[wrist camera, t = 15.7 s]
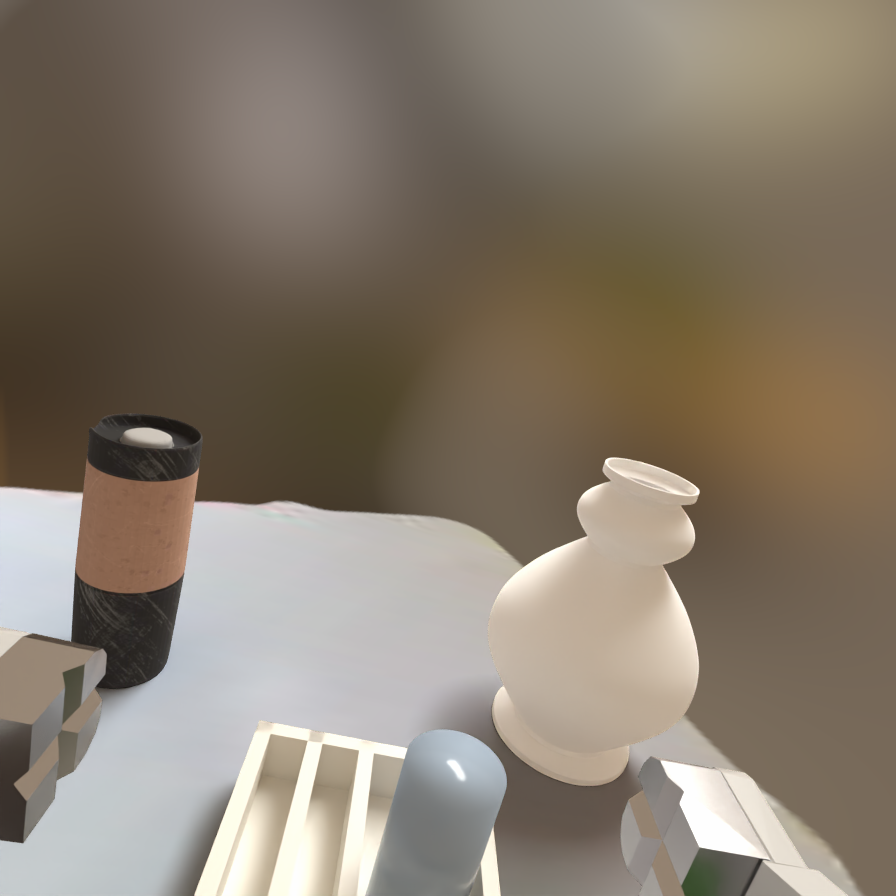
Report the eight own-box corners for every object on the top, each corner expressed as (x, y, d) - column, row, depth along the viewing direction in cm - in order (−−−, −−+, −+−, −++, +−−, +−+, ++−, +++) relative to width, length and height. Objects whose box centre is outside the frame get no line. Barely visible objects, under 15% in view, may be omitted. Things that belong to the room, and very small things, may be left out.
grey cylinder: (355, 963, 33) (402, 802, 30) (366, 867, 38) (407, 721, 35) (456, 979, 34) (512, 822, 31) (453, 882, 39) (501, 739, 36)
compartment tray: (130, 1107, 27) (142, 1033, 26) (248, 774, 44) (259, 720, 43) (491, 1154, 28) (520, 1086, 27) (469, 814, 46) (486, 763, 44)
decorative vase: (687, 834, 49) (818, 550, 42) (465, 788, 48) (563, 488, 41) (625, 686, 66) (712, 467, 59) (461, 649, 65) (530, 421, 58)
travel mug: (190, 666, 53) (225, 443, 47) (96, 705, 46) (125, 454, 41) (140, 621, 56) (167, 410, 51) (47, 652, 50) (67, 415, 45)
